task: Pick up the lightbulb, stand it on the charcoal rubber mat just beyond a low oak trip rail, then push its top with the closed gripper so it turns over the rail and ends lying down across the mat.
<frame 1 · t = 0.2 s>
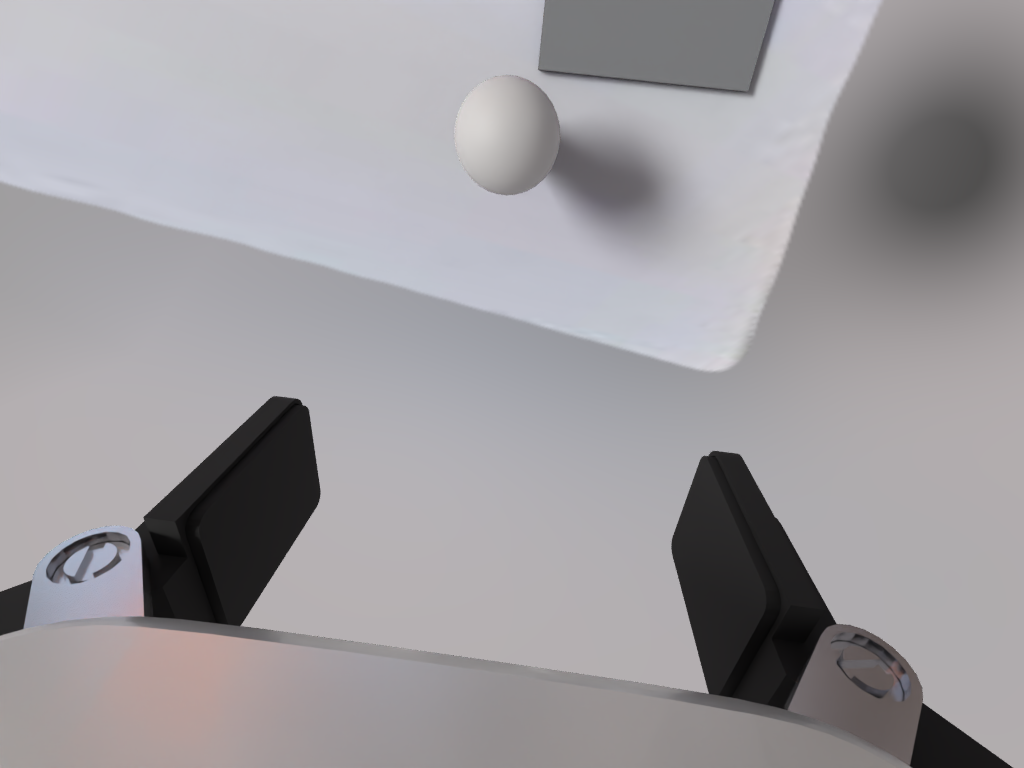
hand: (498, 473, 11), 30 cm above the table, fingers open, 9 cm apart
lightbulb: (518, 134, 34), on the table
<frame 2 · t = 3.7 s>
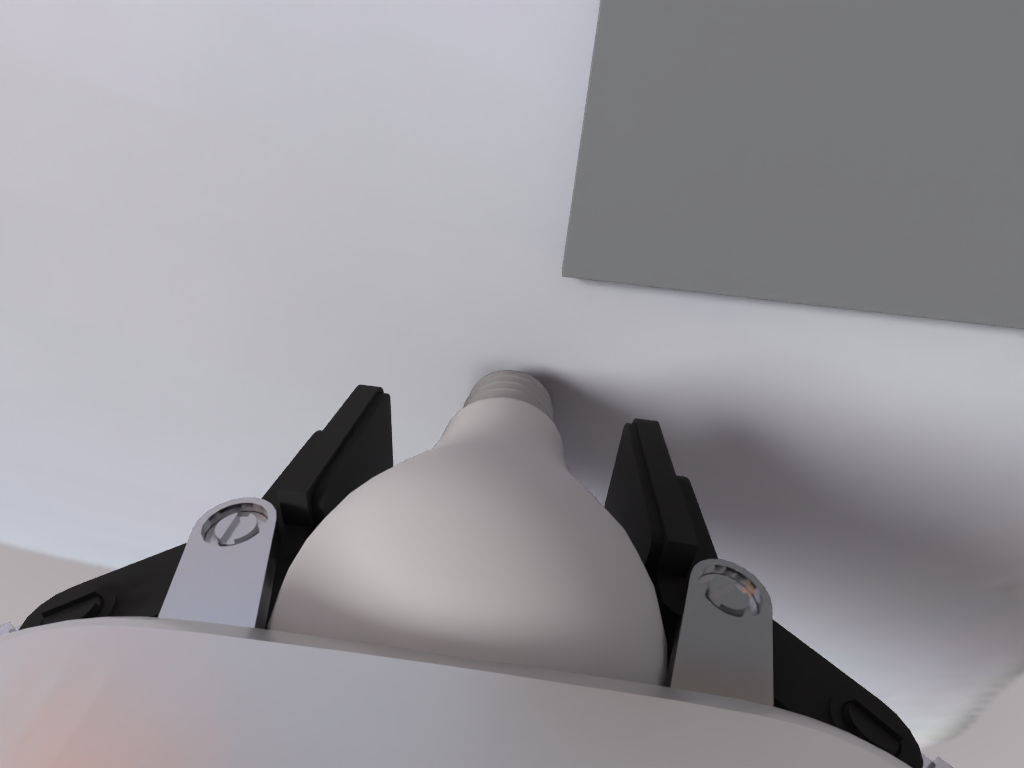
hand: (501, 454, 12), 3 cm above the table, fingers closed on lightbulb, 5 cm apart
lightbulb: (512, 391, 15), on the table, touching gripper
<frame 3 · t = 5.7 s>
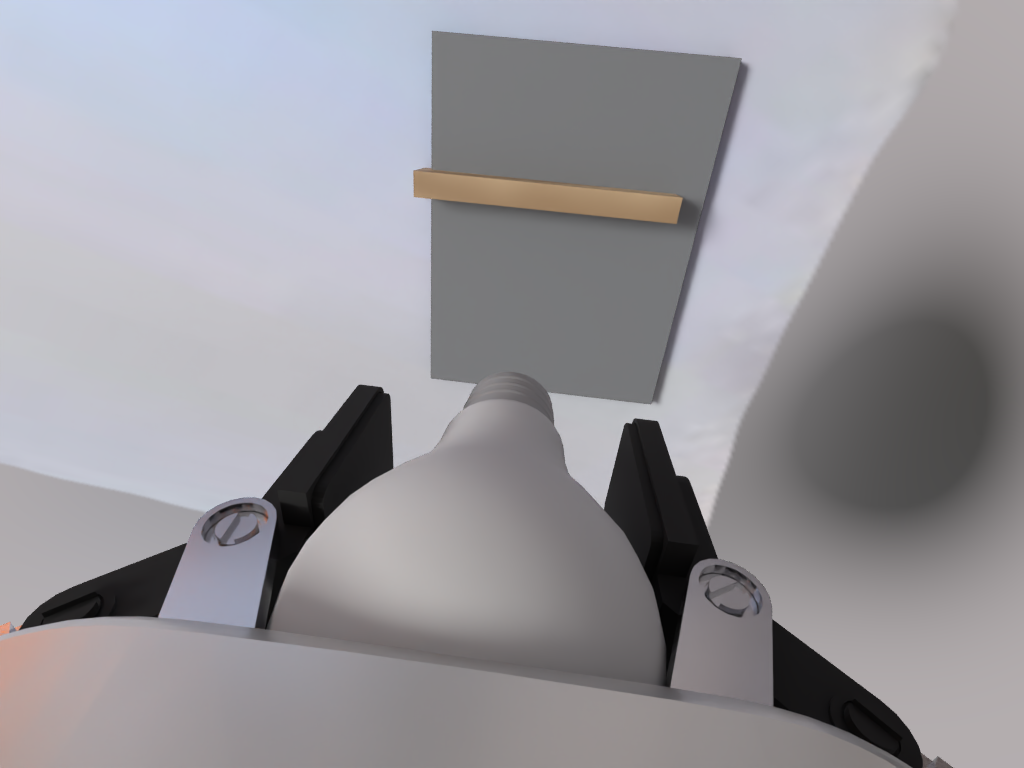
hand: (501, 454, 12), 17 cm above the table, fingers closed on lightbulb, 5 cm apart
lightbulb: (512, 392, 15), point 14 cm above the table, touching gripper
mat: (558, 244, 26), on the table
trip rail: (546, 192, 25), resting on mat
when the fingers open (4 cm above the table, at t = 8.0 s): lightbulb stays where it is, resting on mat.
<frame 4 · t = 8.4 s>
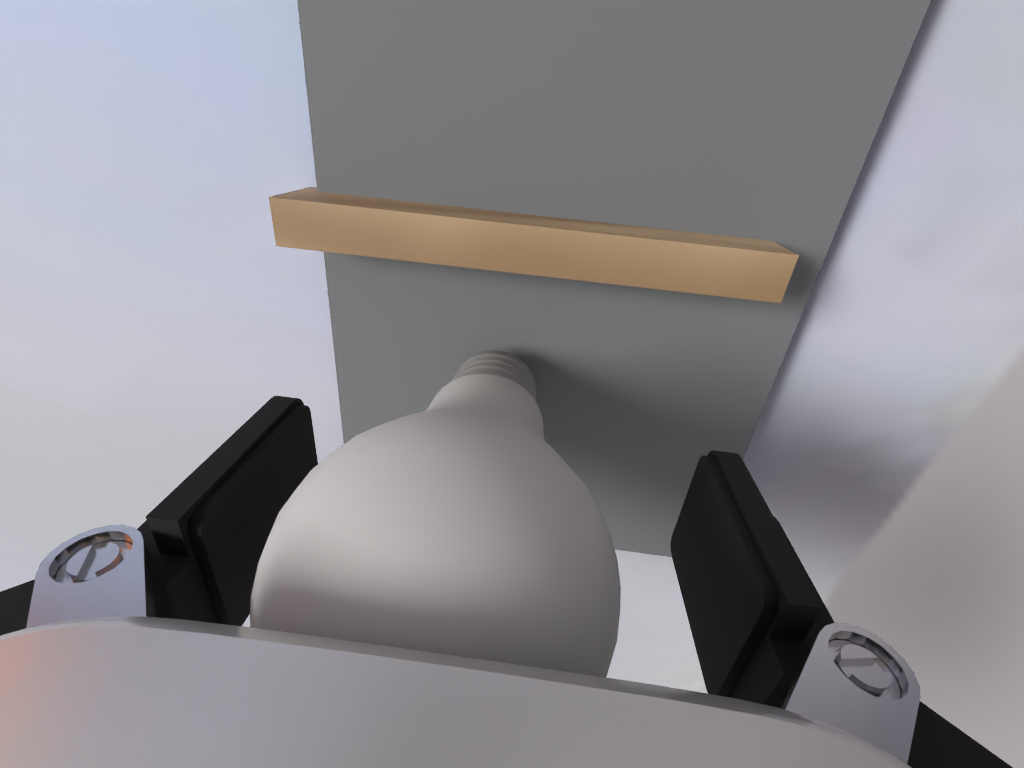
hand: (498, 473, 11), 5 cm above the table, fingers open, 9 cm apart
lightbulb: (499, 371, 15), resting on mat
mat: (553, 320, 15), on the table
trip rail: (530, 232, 14), resting on mat
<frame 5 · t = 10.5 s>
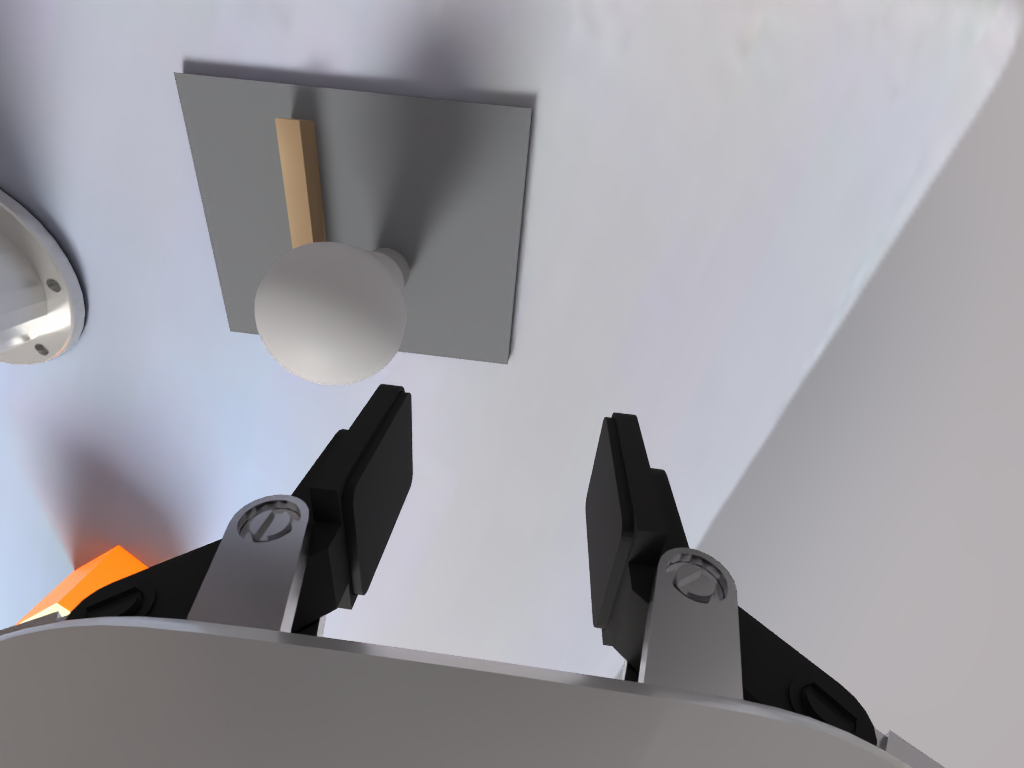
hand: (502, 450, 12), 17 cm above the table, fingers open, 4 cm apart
lightbulb: (393, 265, 27), resting on mat
orange juice: (135, 584, 46), on the table
mat: (363, 233, 27), on the table
trip rail: (321, 245, 28), resting on mat
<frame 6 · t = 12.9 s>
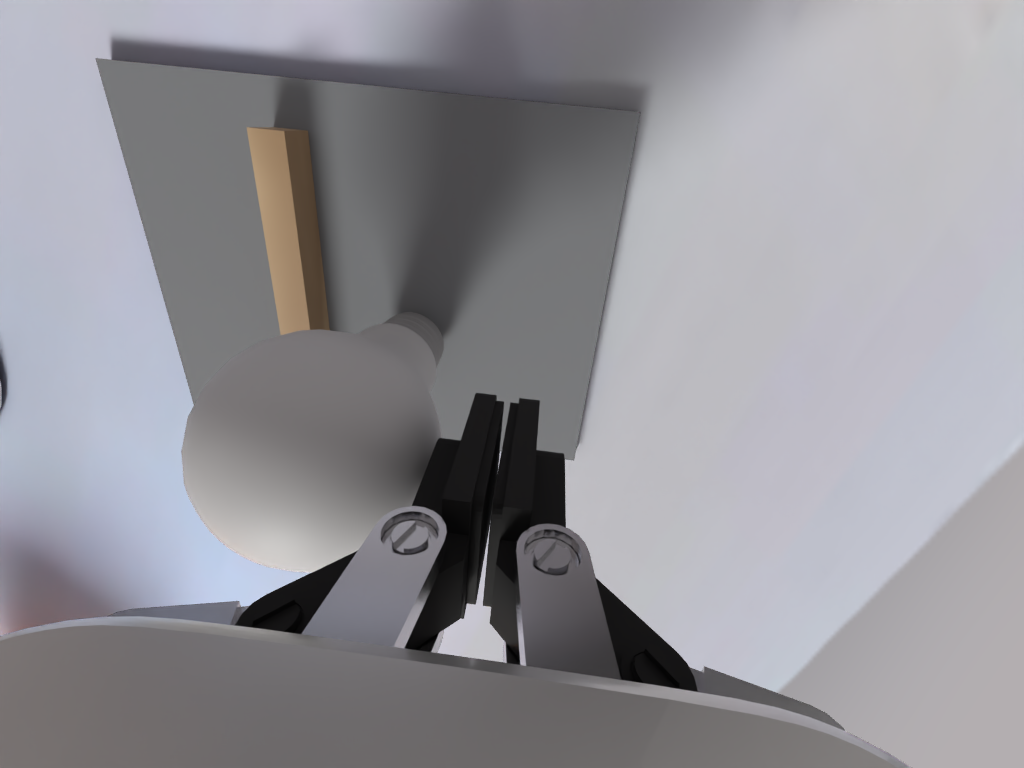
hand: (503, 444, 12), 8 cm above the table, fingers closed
lightbulb: (421, 332, 19), resting on mat, touching gripper
mat: (379, 288, 19), on the table
trip rail: (319, 304, 20), resting on mat
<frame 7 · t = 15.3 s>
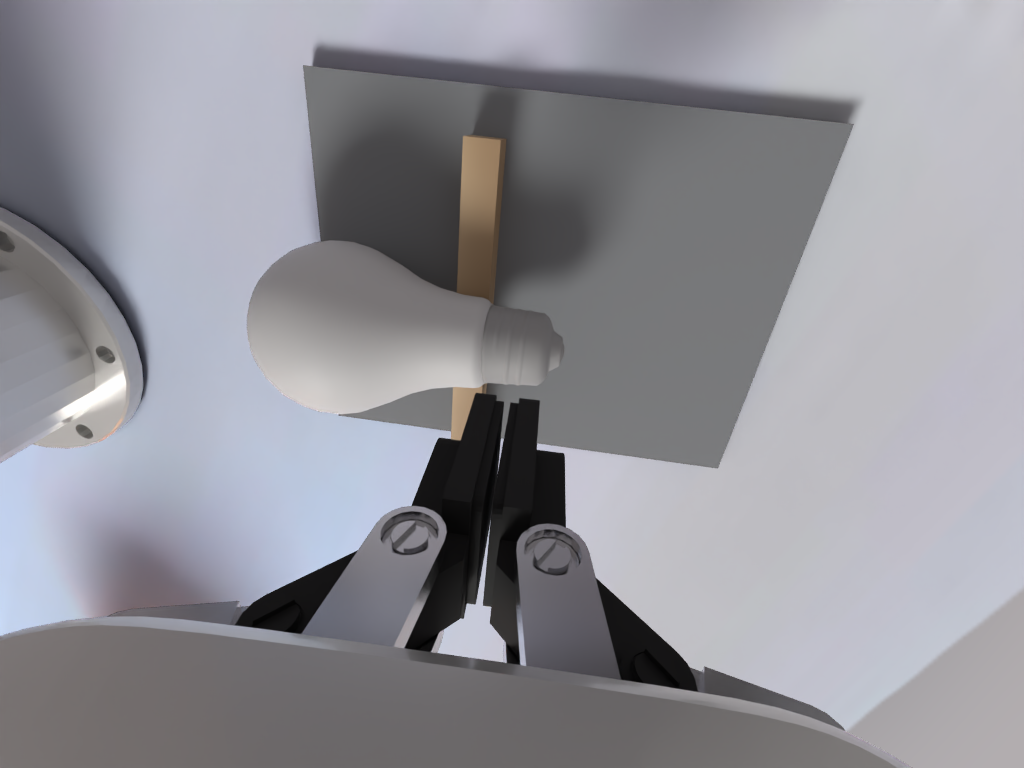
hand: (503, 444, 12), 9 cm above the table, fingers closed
lightbulb: (570, 352, 16), point 4 cm above the table, touching mat, trip rail
mat: (544, 294, 19), on the table
trip rail: (480, 309, 20), resting on mat
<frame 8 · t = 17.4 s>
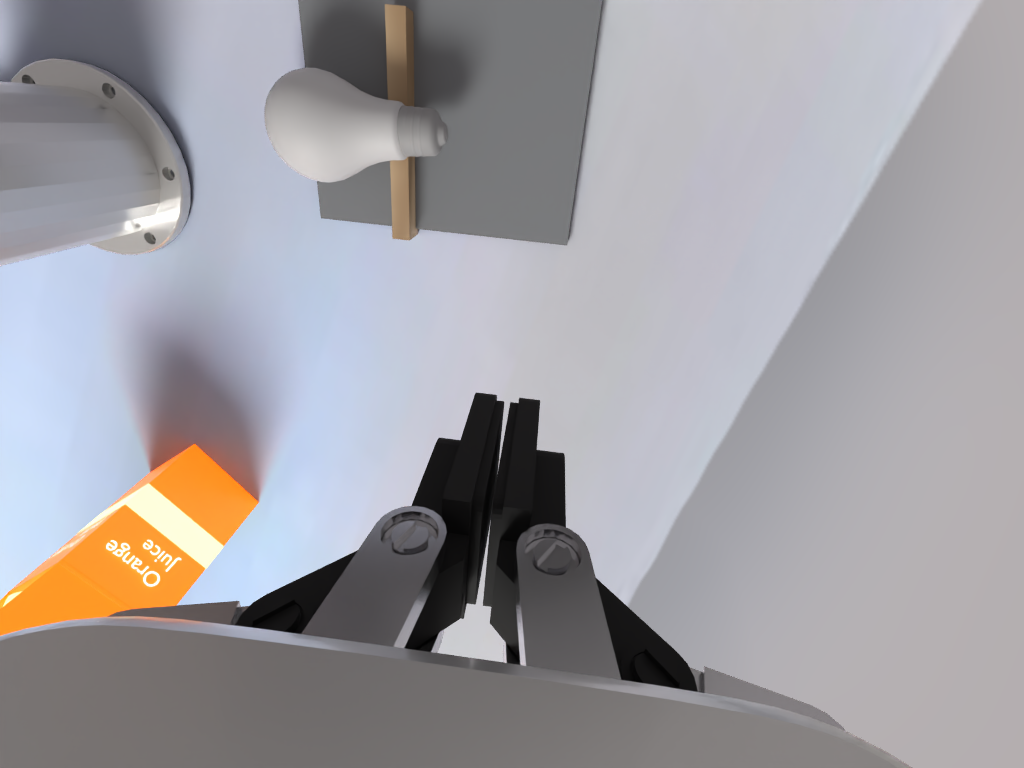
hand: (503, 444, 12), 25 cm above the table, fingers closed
lightbulb: (451, 133, 28), point 4 cm above the table, touching mat, trip rail
orange juice: (206, 486, 50), on the table
mat: (446, 121, 31), on the table
trip rail: (408, 134, 32), resting on mat
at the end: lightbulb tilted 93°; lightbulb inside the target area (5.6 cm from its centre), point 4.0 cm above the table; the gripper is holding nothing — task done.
